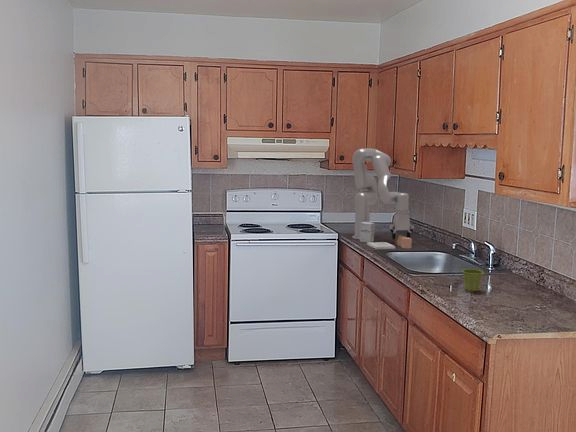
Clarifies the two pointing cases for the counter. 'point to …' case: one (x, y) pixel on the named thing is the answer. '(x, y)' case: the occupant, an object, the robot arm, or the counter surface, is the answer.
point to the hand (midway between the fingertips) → (401, 239)
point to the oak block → (399, 239)
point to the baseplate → (381, 245)
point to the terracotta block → (406, 242)
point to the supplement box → (367, 232)
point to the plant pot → (472, 279)
